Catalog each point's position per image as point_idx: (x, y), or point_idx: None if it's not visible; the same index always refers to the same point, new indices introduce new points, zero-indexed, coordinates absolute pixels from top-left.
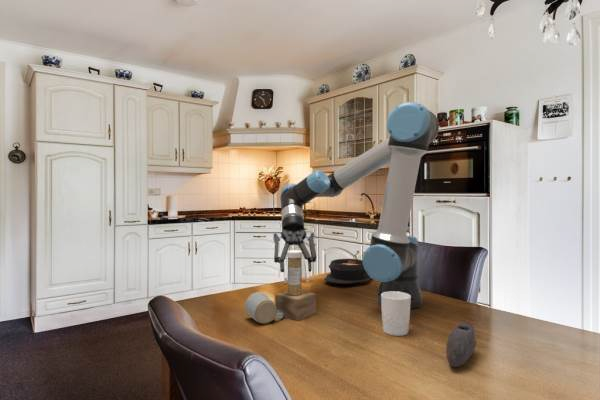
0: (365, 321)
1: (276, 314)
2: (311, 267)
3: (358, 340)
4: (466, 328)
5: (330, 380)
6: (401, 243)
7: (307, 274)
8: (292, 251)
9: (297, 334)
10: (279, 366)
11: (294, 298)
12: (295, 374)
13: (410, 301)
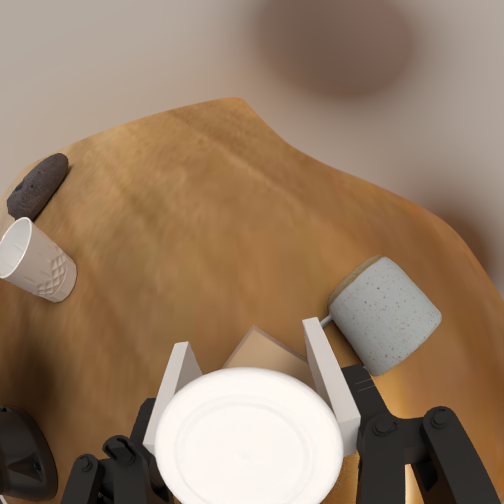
0: (89, 338)
1: (328, 315)
2: (141, 407)
3: (129, 228)
4: (17, 190)
5: (200, 117)
6: None
7: (179, 354)
8: (269, 421)
9: (252, 238)
10: (268, 128)
11: (267, 339)
12: (243, 118)
13: (8, 244)
